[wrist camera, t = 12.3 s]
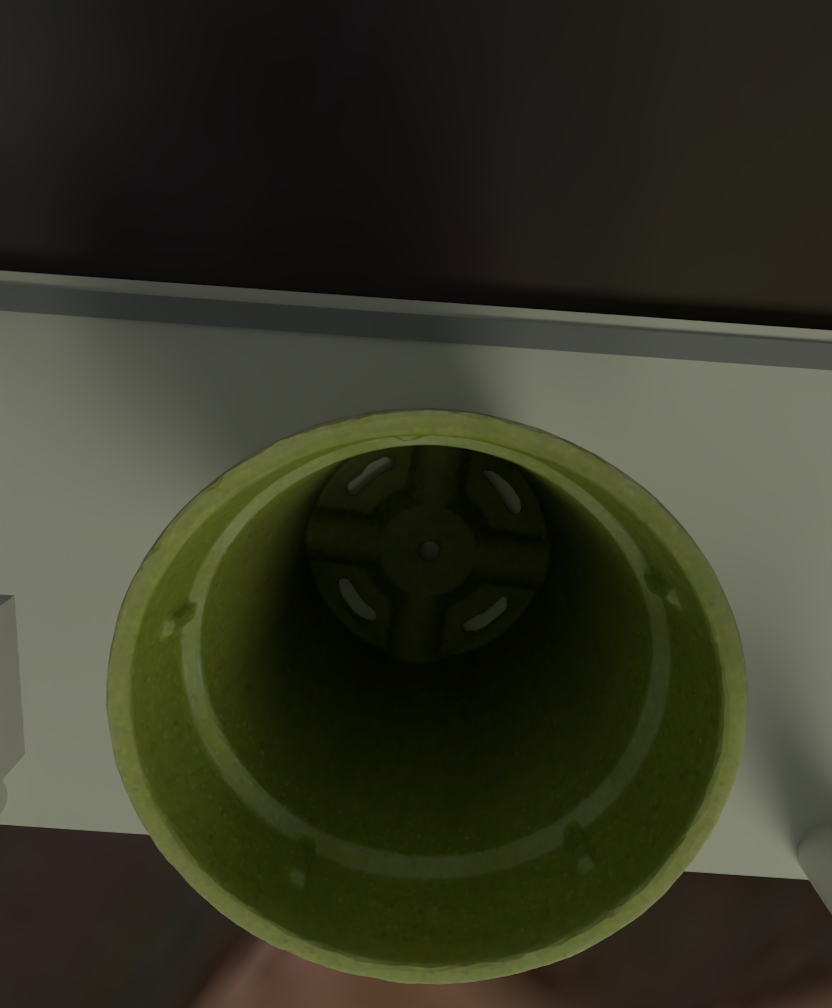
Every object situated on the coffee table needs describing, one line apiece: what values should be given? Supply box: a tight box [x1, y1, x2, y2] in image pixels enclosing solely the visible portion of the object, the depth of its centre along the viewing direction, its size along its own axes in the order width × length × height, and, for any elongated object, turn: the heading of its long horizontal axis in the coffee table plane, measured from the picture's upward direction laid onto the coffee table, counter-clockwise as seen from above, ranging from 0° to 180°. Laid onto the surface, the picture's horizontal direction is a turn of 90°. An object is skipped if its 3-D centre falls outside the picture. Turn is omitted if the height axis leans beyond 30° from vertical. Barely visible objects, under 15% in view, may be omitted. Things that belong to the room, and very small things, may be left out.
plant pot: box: [106, 408, 748, 984], centre depth 16 cm, size 9×9×9 cm
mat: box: [0, 271, 832, 915], centre depth 16 cm, size 26×15×10 cm, turn 86°
